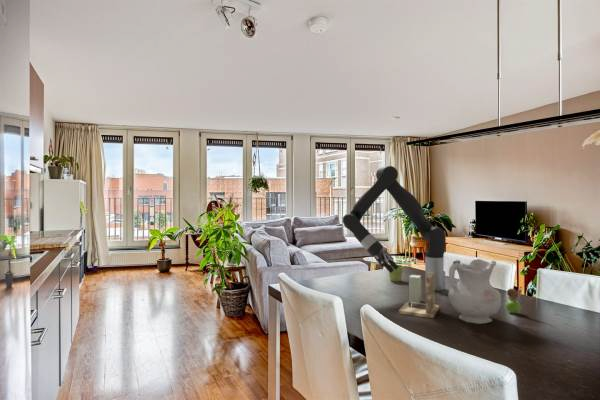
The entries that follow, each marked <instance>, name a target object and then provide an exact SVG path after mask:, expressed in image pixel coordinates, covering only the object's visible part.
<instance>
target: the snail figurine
mask: <svg viewBox="0 0 600 400" xmlns="http://www.w3.org/2000/svg"><path fill="white" fill-rule="evenodd" d="M522 289H523V286H520V287H519V289H518V290H516V289H515V288H509V289H508V290H507V299H508V301H507V302H506V303H505V308H506V310H507V312H508V313H510V314H517V313H519V312H520V311H521V305H520V302H518V301H519V300H520V298H521V296H522Z"/></svg>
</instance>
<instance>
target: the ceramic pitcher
mask: <svg viewBox="0 0 600 400" xmlns="http://www.w3.org/2000/svg"><path fill="white" fill-rule="evenodd" d="M496 265H497V261H495V260H491V261H490V263H489V262H488V261H487V260H483V259H480V258H476V259H474V260H472V261H471V262H470V263H463V262H461V260H458V259H456V260H454V261H452V263H451V265H450V267H449V269H448V279H449V283H450V289H449V291H448V300H449V303H450V305H451V306H452V307H453V308H454V310H455V311H456V312H457V313H459V314H460V315H459V316H458V317H459V318H458V319H459V320H460V321H461V320H462V321H464V322H466V323H468V324H469V323H471V324H477V325H482V324H487V323H491V322H493V318H490V317H492V316H495V315H496V314H497V313H498V312H499V311H500V308H501V304H502V294H501V293H500V291H498V290H497V289H496V288H495V287H494V286H493V285H491V282H490V281H491V280H490V279H491V275H492V272H493V270H494V268H495V266H496ZM456 271H457V274H458V277H459V279H458V281H457V282H456V279H455V273H456Z"/></svg>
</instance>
